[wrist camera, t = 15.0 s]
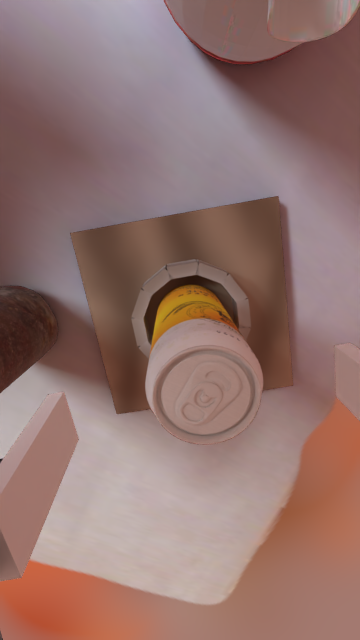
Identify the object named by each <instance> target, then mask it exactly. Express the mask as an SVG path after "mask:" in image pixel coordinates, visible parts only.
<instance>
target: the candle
mask: <svg viewBox="0 0 360 640" xmlns="http://www.w3.org/2000/svg"><path fill="white" fill-rule="evenodd" d="M57 334H58V328H57V321H56V319H55V317H54V315H53V313H52V311H51V309H50V308H49V306H48V304H47V303H46V302H45V301H44V300H43V298H42V297H41V296H40V295H39V294H37V293H36V292H35V291H33V290H30V289H27V288H25V287H21V286H4V287H0V393H1V392H2V391H3V390H4V389H6V388H7V387H8V386H9V385H10V384H11V383H12V382H14V381H15V380H16V379H17V378H18V377H19V376H21V375H22V374H23V373H24V372H25V371H26V370H28V369H29V368H30V367H31V366H32V365H33V364H34V363H35V362H36V361H38V360H39V359H40V358H41V357H42V356H43V355H44V354H45V353H46V352H47V351H48V350H49V349H50V348H51V347H52V346H53V344H54V343H55V341H56V337H57Z"/></svg>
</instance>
